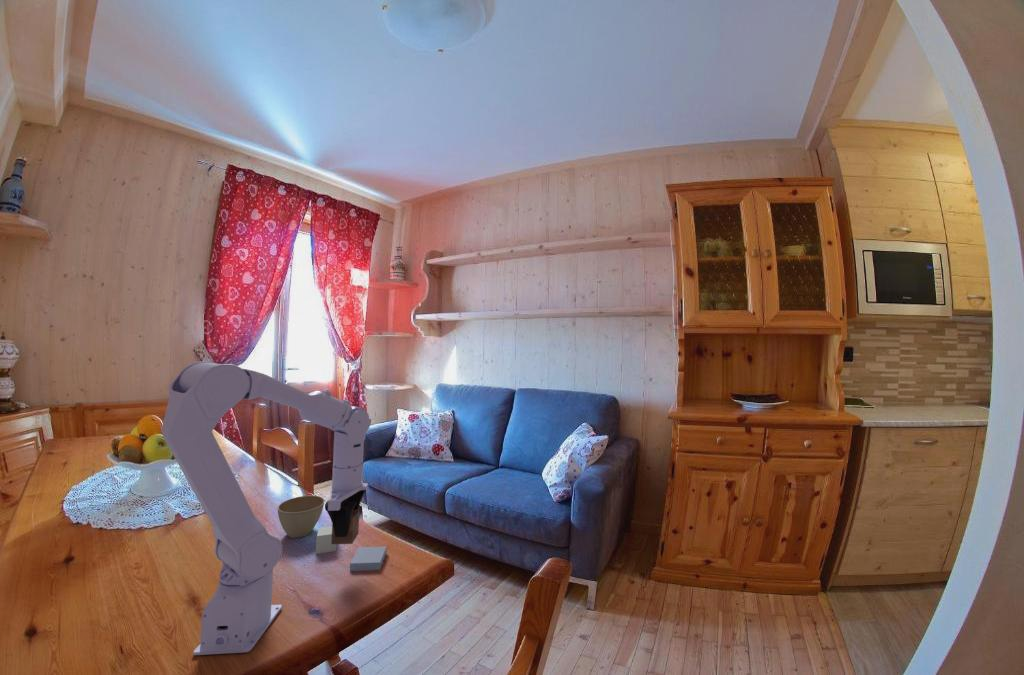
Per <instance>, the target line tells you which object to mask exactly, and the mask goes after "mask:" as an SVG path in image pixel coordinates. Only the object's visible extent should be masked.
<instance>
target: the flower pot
mask: <svg viewBox="0 0 1024 675" xmlns="http://www.w3.org/2000/svg"><path fill="white" fill-rule="evenodd" d="M324 507H325V498H324V497H321V496H319V495H302V496H297V497H292V498H289V499H287V500H284V501H282V502H280V503H279V505H278V506H277V515H278V519H279V520H278V521H279V523H280V525H281V527H282V529H283V531H284V532H285V534H286V535H287V537H289V538H292V539H299V538H302V537H306V536H308V535H310V534H311V532H312V531H313V530H314V528H315V527H316V525H317V524H318V521H319V520H320V518H321V515H322V512H323V509H324Z"/></svg>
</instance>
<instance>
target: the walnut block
mask: <svg viewBox="0 0 1024 675" xmlns="http://www.w3.org/2000/svg"><path fill="white" fill-rule="evenodd" d="M331 526H332V541H331V544H337V545H353V544H354V542H355V540H356V538H357V537H358V535H359V529H360V528H359V527H360V509H358V510H353V512H352V515H351V520H350V526H349V530H348V534H347V536H346V537H335V533H334V529H333V524H332V523H331Z"/></svg>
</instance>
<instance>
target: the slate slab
mask: <svg viewBox="0 0 1024 675" xmlns="http://www.w3.org/2000/svg"><path fill="white" fill-rule="evenodd" d="M387 547H388V546H359V547H358V548H357V551H355V554H354V555H353V557H352V560H351V561H350V563H349V572H359V571H360V572H363V571H364V572H365V571H381V568H382V566H381V565H383V563H384V561H383V560H385V558H386V556H385V555H387Z"/></svg>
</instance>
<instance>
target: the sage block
mask: <svg viewBox="0 0 1024 675" xmlns="http://www.w3.org/2000/svg"><path fill="white" fill-rule="evenodd" d="M331 541H332V525H328V526H321V527H318V531H317V534H316V541H315V555H318V554H320V555H321V554H325V553H326V554H327V553H332V552H336V551H337V547H338V546H337V545H338V544H331Z"/></svg>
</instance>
